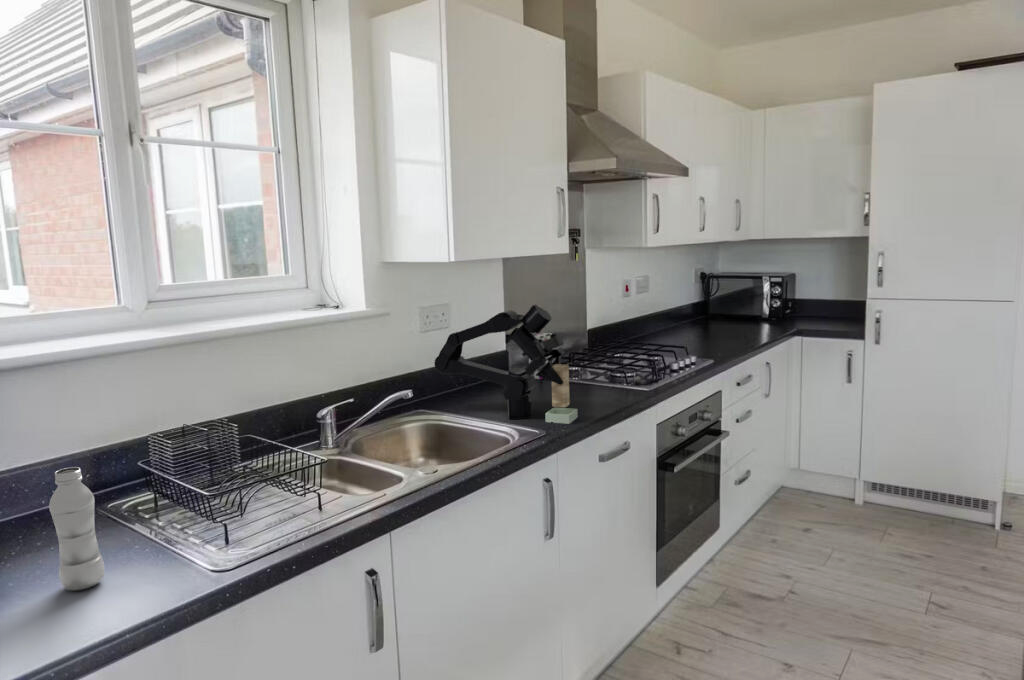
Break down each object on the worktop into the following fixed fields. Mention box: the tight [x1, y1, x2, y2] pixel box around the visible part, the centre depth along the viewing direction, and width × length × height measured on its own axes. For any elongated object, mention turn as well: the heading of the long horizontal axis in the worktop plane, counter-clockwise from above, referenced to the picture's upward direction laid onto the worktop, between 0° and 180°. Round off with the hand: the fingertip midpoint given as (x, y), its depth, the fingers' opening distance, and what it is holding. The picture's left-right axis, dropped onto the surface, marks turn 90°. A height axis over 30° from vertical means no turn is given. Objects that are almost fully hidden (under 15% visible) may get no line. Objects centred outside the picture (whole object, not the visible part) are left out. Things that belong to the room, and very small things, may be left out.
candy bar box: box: [528, 332, 554, 380], centre depth 270 cm, size 11×5×16 cm, turn 147°
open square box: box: [544, 407, 579, 425], centre depth 207 cm, size 7×7×3 cm
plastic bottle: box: [48, 466, 105, 592], centre depth 115 cm, size 6×7×20 cm
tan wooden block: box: [551, 363, 570, 408], centre depth 206 cm, size 4×4×12 cm
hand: (564, 382), depth 205 cm, fingers closed on tan wooden block, 4 cm apart
